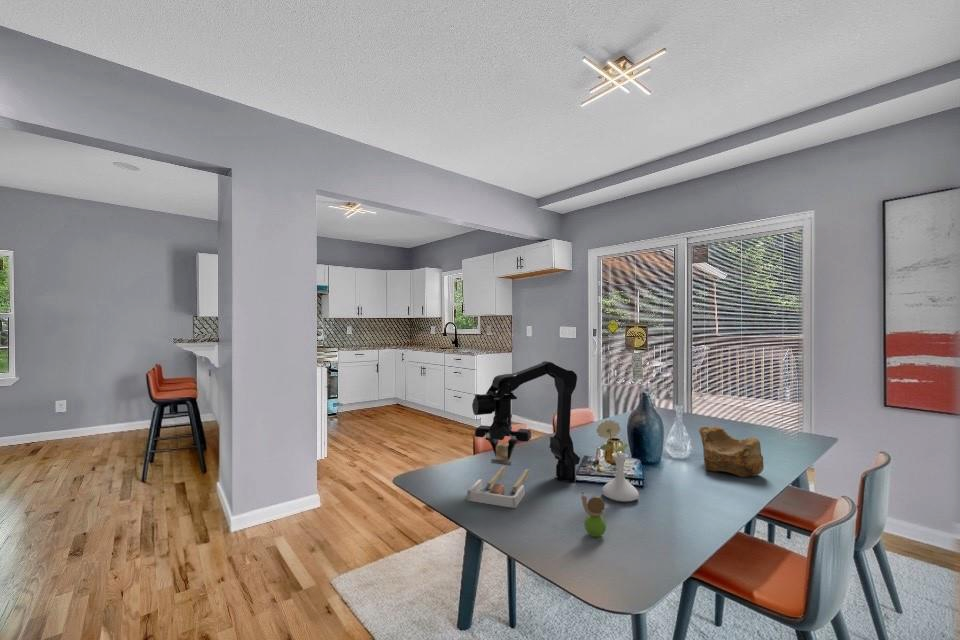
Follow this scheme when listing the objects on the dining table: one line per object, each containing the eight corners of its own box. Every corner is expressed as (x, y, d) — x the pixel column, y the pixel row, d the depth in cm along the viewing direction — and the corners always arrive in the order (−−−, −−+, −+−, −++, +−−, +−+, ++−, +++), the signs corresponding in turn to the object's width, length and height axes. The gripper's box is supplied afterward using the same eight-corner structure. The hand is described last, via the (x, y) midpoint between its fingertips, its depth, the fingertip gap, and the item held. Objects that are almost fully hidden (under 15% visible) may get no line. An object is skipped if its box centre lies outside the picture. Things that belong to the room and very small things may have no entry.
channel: (529, 474, 156) (529, 469, 156) (516, 493, 139) (516, 487, 139) (502, 471, 159) (502, 466, 159) (487, 488, 143) (487, 483, 143)
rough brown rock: (682, 467, 166) (680, 430, 165) (707, 457, 174) (706, 422, 173) (742, 489, 145) (741, 447, 144) (767, 476, 153) (766, 437, 152)
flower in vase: (638, 493, 138) (637, 417, 139) (639, 507, 128) (639, 425, 128) (597, 488, 143) (597, 415, 143) (595, 501, 132) (595, 422, 132)
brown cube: (504, 493, 139) (504, 484, 139) (501, 497, 136) (501, 488, 136) (495, 492, 140) (495, 483, 140) (492, 496, 137) (492, 487, 137)
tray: (524, 494, 138) (524, 485, 138) (515, 508, 128) (515, 498, 128) (479, 487, 144) (479, 479, 144) (467, 500, 133) (467, 491, 133)
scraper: (514, 461, 144) (514, 443, 144) (510, 465, 139) (510, 447, 139) (495, 459, 146) (495, 442, 146) (491, 463, 142) (491, 445, 142)
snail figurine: (578, 531, 113) (578, 487, 113) (601, 530, 114) (601, 486, 114) (585, 541, 108) (584, 495, 108) (609, 540, 108) (608, 494, 108)
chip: (501, 497, 136) (501, 488, 136) (498, 501, 133) (498, 491, 133) (492, 496, 137) (492, 487, 137) (490, 499, 134) (489, 490, 134)
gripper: (468, 415, 139) (469, 462, 138) (523, 419, 132) (523, 469, 132) (480, 409, 149) (480, 452, 149) (531, 412, 142) (531, 458, 142)
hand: (503, 458), depth 143 cm, fingers closed on scraper, 4 cm apart
